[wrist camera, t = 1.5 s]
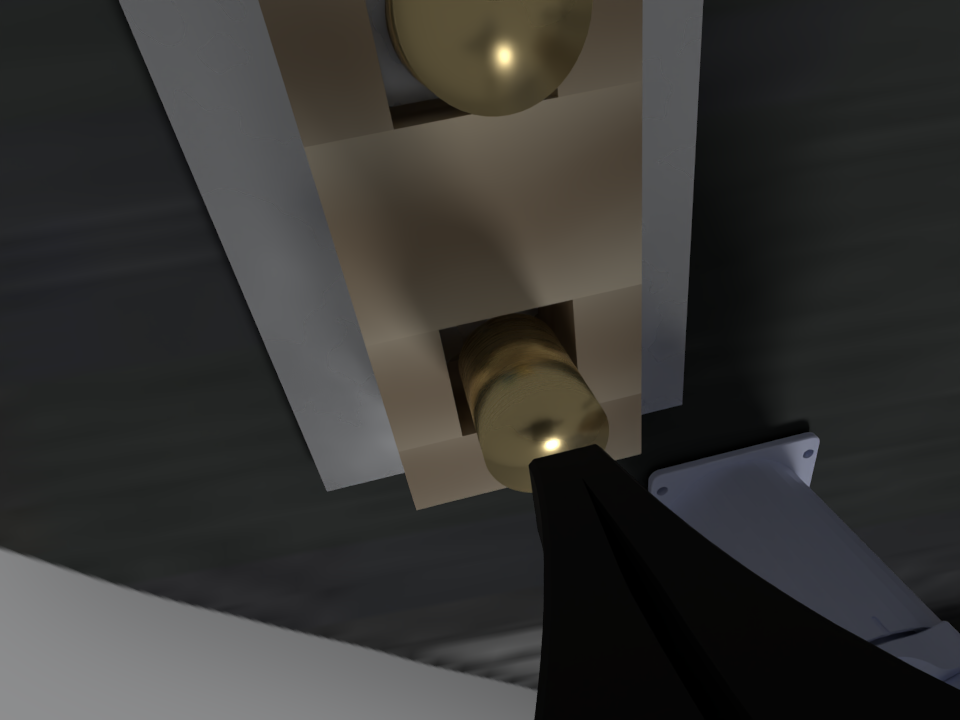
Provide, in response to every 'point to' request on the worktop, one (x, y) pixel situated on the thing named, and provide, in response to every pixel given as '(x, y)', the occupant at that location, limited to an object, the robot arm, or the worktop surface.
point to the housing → (475, 223)
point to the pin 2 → (526, 397)
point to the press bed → (305, 233)
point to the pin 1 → (489, 48)
